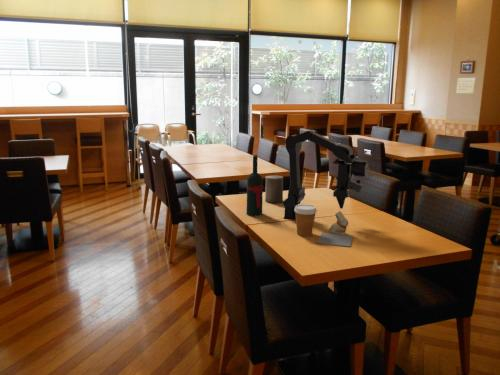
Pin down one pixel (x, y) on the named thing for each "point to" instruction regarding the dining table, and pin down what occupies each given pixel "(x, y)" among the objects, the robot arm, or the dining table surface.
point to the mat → (335, 239)
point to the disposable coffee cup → (305, 219)
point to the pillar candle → (274, 189)
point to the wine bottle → (254, 191)
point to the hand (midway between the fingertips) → (341, 208)
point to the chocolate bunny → (339, 224)
